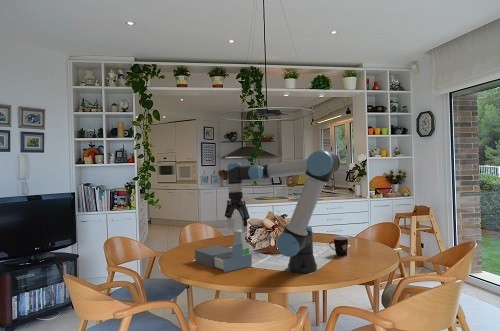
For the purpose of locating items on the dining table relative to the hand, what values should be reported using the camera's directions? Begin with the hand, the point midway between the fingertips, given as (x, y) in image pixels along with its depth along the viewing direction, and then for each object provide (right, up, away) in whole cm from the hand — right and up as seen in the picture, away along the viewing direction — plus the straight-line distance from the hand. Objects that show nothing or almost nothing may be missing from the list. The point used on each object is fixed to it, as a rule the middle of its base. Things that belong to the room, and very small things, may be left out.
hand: (237, 231), depth 189 cm
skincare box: (+2, -21, +32) cm, 38 cm away
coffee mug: (+60, -19, +23) cm, 67 cm away
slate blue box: (-13, -21, +17) cm, 30 cm away
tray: (-5, -21, +7) cm, 23 cm away
